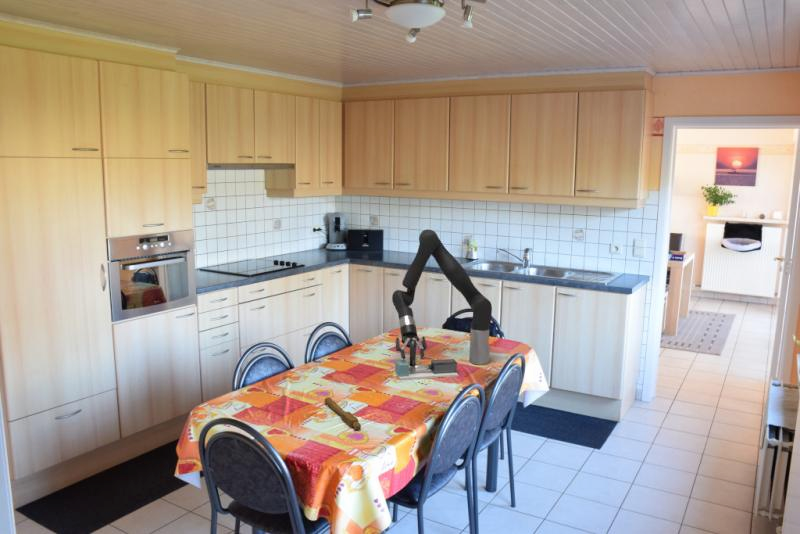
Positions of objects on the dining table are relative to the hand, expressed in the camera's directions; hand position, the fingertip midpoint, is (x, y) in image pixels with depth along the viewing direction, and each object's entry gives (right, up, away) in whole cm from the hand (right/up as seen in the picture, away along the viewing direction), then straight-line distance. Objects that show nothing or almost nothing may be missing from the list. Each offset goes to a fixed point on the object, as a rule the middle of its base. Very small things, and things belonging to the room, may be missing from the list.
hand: (413, 358), depth 296 cm
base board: (+6, -8, +4) cm, 11 cm away
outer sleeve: (+14, -8, +6) cm, 18 cm away
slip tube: (+2, -7, +3) cm, 8 cm away
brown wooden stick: (-29, -16, -47) cm, 57 cm away
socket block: (-5, -8, +2) cm, 10 cm away
